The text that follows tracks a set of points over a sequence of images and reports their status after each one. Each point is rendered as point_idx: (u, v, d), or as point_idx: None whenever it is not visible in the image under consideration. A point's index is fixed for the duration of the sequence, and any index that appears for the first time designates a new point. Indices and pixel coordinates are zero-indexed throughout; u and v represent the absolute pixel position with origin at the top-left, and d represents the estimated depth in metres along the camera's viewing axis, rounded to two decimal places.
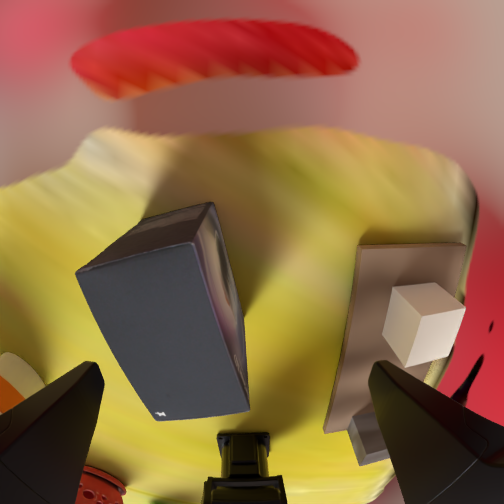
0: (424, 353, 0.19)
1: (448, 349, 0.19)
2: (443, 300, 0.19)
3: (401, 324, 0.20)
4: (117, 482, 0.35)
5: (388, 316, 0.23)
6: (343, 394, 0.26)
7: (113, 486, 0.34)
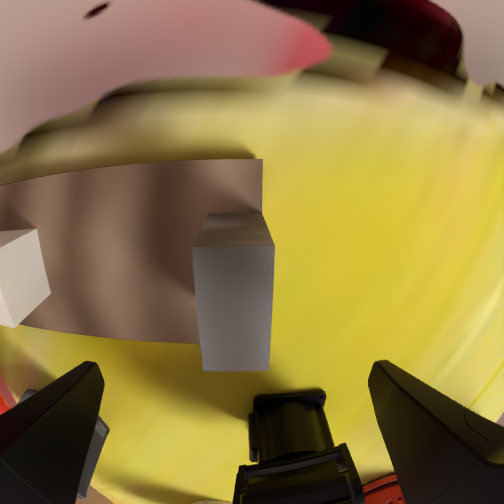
0: None
1: None
2: None
3: None
4: (378, 483, 0.31)
5: None
6: (147, 330, 0.18)
7: (380, 488, 0.31)
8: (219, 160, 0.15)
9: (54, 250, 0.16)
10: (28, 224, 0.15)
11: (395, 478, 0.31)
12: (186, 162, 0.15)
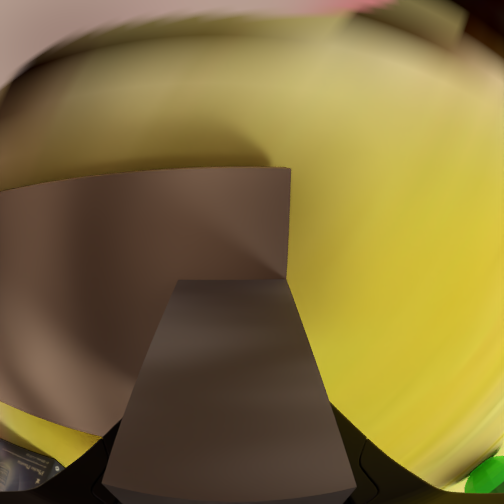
0: None
1: None
2: None
3: None
4: None
5: None
6: (108, 429, 0.10)
7: None
8: (196, 170, 0.07)
9: None
10: None
11: None
12: (129, 176, 0.07)
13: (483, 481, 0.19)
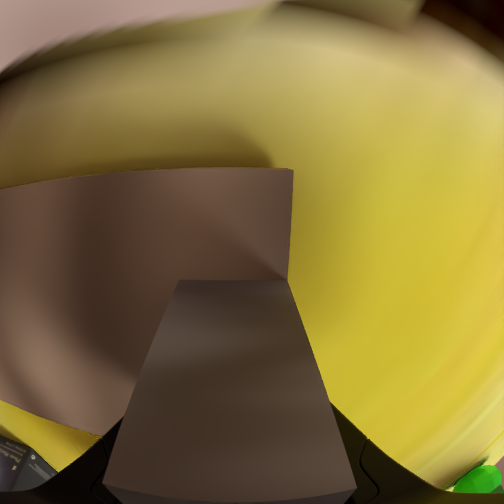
0: None
1: None
2: None
3: None
4: None
5: None
6: (106, 427, 0.10)
7: None
8: (199, 171, 0.07)
9: None
10: None
11: None
12: (131, 176, 0.07)
13: (469, 491, 0.19)
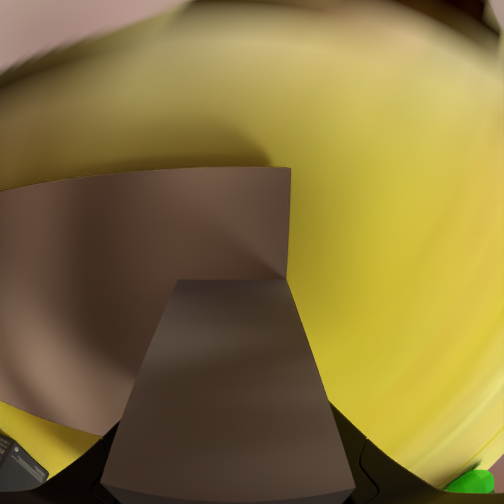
0: None
1: None
2: None
3: None
4: None
5: None
6: (107, 428, 0.10)
7: None
8: (196, 170, 0.07)
9: None
10: None
11: None
12: (129, 176, 0.07)
13: None
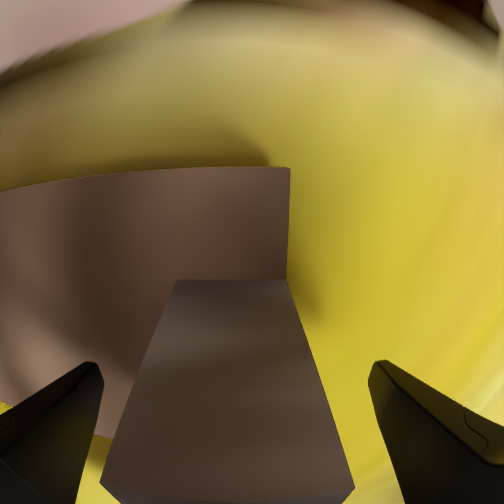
0: None
1: None
2: None
3: None
4: None
5: None
6: (107, 428, 0.10)
7: None
8: (196, 170, 0.07)
9: None
10: None
11: None
12: (128, 176, 0.07)
13: None
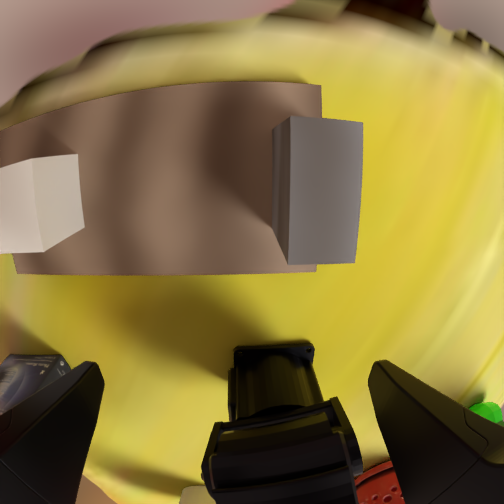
0: (24, 223, 0.11)
1: (21, 167, 0.10)
2: None
3: None
4: (380, 467, 0.31)
5: None
6: (196, 261, 0.18)
7: (383, 474, 0.30)
8: (282, 83, 0.15)
9: (96, 175, 0.16)
10: (67, 151, 0.15)
11: None
12: (251, 83, 0.14)
13: None
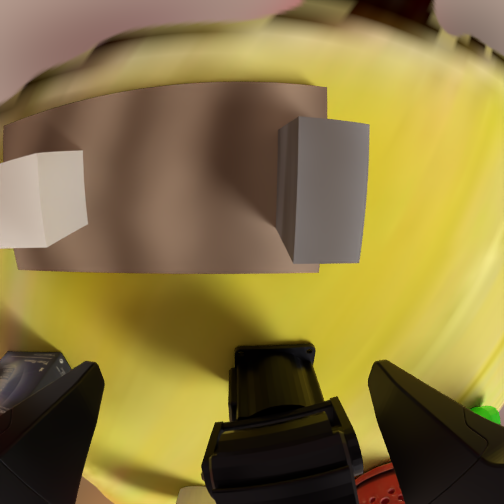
0: (28, 218, 0.11)
1: (26, 161, 0.11)
2: None
3: None
4: (378, 470, 0.31)
5: None
6: (199, 260, 0.18)
7: (380, 476, 0.30)
8: (289, 84, 0.15)
9: (101, 172, 0.16)
10: (72, 147, 0.15)
11: None
12: (258, 83, 0.15)
13: None
